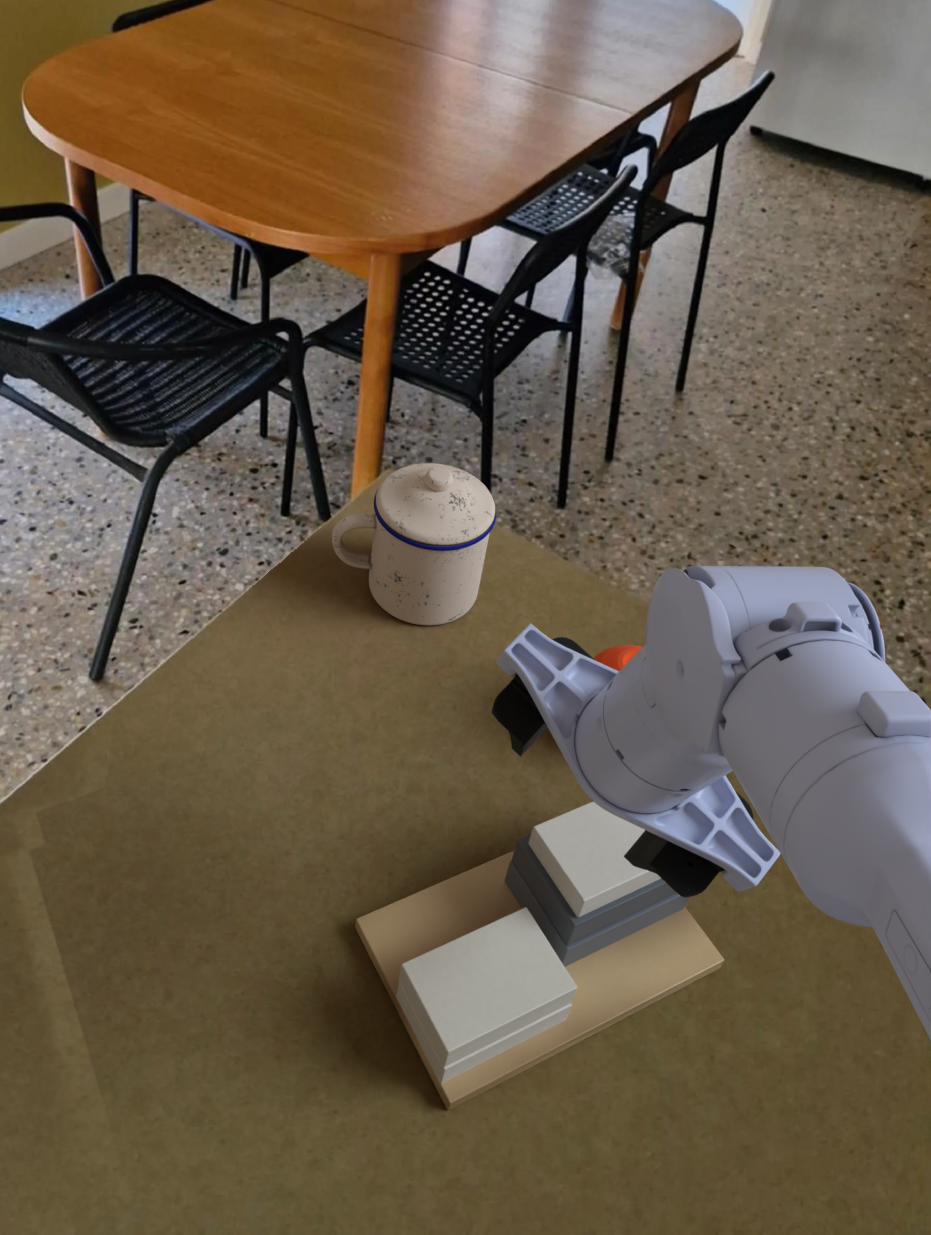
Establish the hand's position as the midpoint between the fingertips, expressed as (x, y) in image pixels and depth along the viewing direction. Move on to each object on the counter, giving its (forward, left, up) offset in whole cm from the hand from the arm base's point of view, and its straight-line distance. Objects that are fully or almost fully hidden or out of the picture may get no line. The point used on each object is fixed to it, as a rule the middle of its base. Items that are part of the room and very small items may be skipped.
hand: (582, 792), depth 58 cm
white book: (0, -4, -8) cm, 9 cm away
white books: (-3, +6, -12) cm, 14 cm away
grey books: (0, -4, -12) cm, 13 cm away
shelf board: (-1, +1, -13) cm, 13 cm away
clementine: (+10, -14, -14) cm, 22 cm away
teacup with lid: (+28, -6, -14) cm, 31 cm away
